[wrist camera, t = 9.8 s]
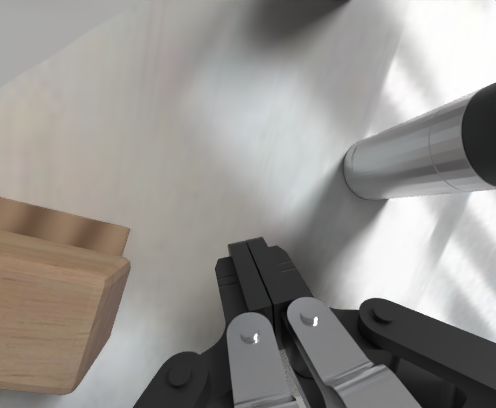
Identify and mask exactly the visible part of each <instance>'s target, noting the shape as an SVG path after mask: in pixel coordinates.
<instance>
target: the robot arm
mask: <svg viewBox="0 0 496 408" xmlns="http://www.w3.org/2000/svg"><path fill="white" fill-rule="evenodd" d="M344 176H345V179H346V182H347V184H348V186H349V187H350V188H351V190H352V191H353V192H354V193H355V194H356V195H358V196H360V197H361V198H364V199H369V200H376V199H388V198H401V197H413V196H425V195H437V194H449V193H461V192H473V191H484V190H496V83H494V84H491V85H489V86H487V87H485V88H482V89H480V90H478V91H475V92H473V93H471V94H468V95H466V96H464V97H461V98H459V99H457V100H454V101H452V102H450V103H448V104H445V105H443V106H441V107H438V108H436V109H434V110H431V111H429V112H427V113H424V114H422V115H420V116H417V117H415V118H413V119H411V120H408V121H406V122H404V123H401V124H399V125H397V126H394V127H392V128H390V129H387V130H385V131H383V132H380V133H378V134H375V135H373V136H371V137H369V138H366V139H364V140H362V141H359V142H357V143H356V144H354V145H353V146H352V147H351V148H350V149H349V151H348V153H347V154H346V157H345V160H344ZM228 250H229V257H225V258H221V259H218V261H217V264H216V267H215V271H216V276H217V281H218V287H219V292H220V297H221V302H222V306H223V311H224V316H225V321H226V327H225V331H224V333H223V335H222V337H221V338H220V340H219V341H218V342H217V343H216V344H215V345H214V346H212V347H211V348H210V349H208V350H207V351H205V352H204V353H202V354H201V355H199V354H197V353H194V352H189V351H188V352H181V353H178V354H176V355H174V356H172V357H171V358H169V359H168V360H167V361H166V362H165V363H164V364H163V365H162V367H161V368H160V369H159V371H158V372H157V374H156V375H155V376H154V378H153V379H152V381H151V382H150V384H149V385H148V386H147V388H146V389H145V391H144V392H143V394H142V395H141V397H140V398H139V399H138V401H137V402H136V404H135V405H134V407H133V408H299V406H298V404H297V401H296V399H295V398H294V397H293V396H292V393H291V390H290V387H289V384H288V380H287V377H286V373H285V370H284V366H283V363H282V359H281V356H280V353H279V350H282V349H285V352H286V354H287V357H288V359H289V370H290V373H291V375H292V378H293V380H294V382H295V384H296V386H297V388H298V390H299V393H300V395H301V397H302V399H303V401H304V403H305V405H306V408H496V343H494V342H492V341H489V340H487V339H484V338H482V337H479V336H477V335H474V334H472V333H469V332H466V331H464V330H461V329H459V328H456V327H454V326H451V325H449V324H446V323H444V322H441V321H439V320H436V319H434V318H431V317H429V316H426V315H424V314H421V313H419V312H416V311H414V310H411V309H409V308H406V307H404V306H401V305H399V304H396V303H394V302H391V301H389V300H386V299H381V298H371V299H368V300H366V301H364V302H363V303H362V304H361V306H360V308H359V310H340V309H333V308H330V307H328V306H327V305H326V304H325V303H324V302H322V301H321V300H318V299H316V298H314V296H313V295H312V293H311V291H310V290H309V288H308V287H307V285H306V283H305V282H304V280H303V279H302V277H301V275H300V274H299V272H298V271H297V269H296V268H295V266H294V264H293V262H291V259H290V258H289V256H288V254H287V253H286V251H284V250H283V249H281V248H280V247H278V246H272V247H268V246H267V244H266V242H265V240H264V239H263V237H258V238H254V239H250V240H246V241H241V242H236V243H232V244H228Z"/></svg>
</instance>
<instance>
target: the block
mask: <svg viewBox="0 0 496 408" xmlns="http://www.w3.org/2000/svg"><path fill="white" fill-rule="evenodd" d="M130 268H131V267H130V261H129V260H128V259H126V258H125V257H121V256H116V255H112V254H107V253H103V252H98V251H94V250H89V249H85V248H80V247H75V246H71V245H66V244H62V243H57V242H53V241H48V240H43V239H39V238H34V237H30V236H25V235H21V234H16V233H12V232H7V231H2V230H0V389H8V390H17V391H27V392H36V393H45V394H54V395H64V394H69V393H71V392H73V391H74V390H75V389H76V388H77V386H78V385H79V384H80V382H81V381H82V379H83V378H84V376H85V375H86V373H87V372H88V370H89V369H90V367H91V365H92V364H93V362H94V361H95V359H96V358H97V356H98V355H99V353H100V352H101V350H102V348H103V347H104V345H105V344H106V342H107V341H108V339H109V338H110V334H111V331H112V328H113V324H114V321H115V318H116V314H117V311H118V308H119V304H120V301H121V298H122V294H123V291H124V288H125V285H126V281H127V278H128V275H129V271H130Z"/></svg>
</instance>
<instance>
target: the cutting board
mask: <svg viewBox="0 0 496 408" xmlns="http://www.w3.org/2000/svg"><path fill="white" fill-rule="evenodd" d="M0 230H2V231H7V232H12V233H16V234H21V235H25V236H30V237H34V238H39V239H43V240H48V241H53V242H57V243H62V244H66V245H71V246H75V247H80V248H85V249H89V250H94V251H98V252H103V253H107V254H112V255H116V256H121V257H122V254H123V251H124V248H125V245H126V241H127V238H128V235H129V231H130V228H127V227H122V226H118V225H114V224H110V223H106V222H101V221H97V220H93V219H89V218H85V217H81V216H76V215H72V214H68V213H64V212H60V211H56V210H51V209H47V208H43V207H39V206H35V205H31V204H26V203H22V202H18V201H14V200H10V199H6V198H1V197H0Z"/></svg>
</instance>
